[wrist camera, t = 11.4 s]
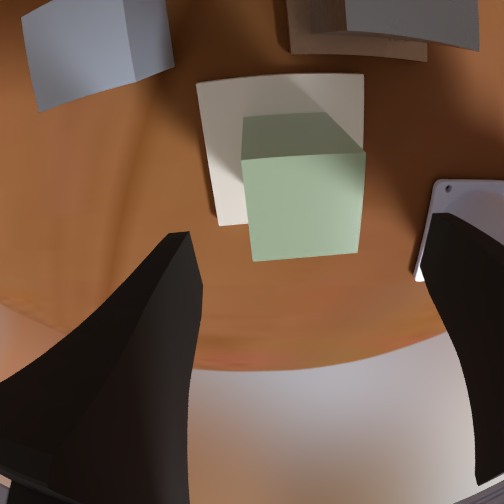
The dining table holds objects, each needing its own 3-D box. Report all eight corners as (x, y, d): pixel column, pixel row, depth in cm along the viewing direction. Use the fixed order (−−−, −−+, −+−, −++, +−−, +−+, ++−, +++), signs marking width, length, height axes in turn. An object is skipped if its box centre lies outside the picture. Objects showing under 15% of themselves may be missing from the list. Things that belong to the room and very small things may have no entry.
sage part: (325, 112, 14) (366, 153, 10) (326, 184, 17) (357, 252, 12) (243, 117, 15) (240, 160, 10) (251, 190, 17) (252, 261, 12)
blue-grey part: (164, -6, 11) (119, -27, 6) (175, 66, 13) (136, 81, 9) (90, 17, 11) (21, 17, 6) (102, 84, 14) (39, 113, 9)
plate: (360, 73, 14) (363, 74, 13) (355, 209, 18) (358, 214, 18) (197, 82, 14) (195, 84, 13) (219, 220, 19) (218, 226, 18)
